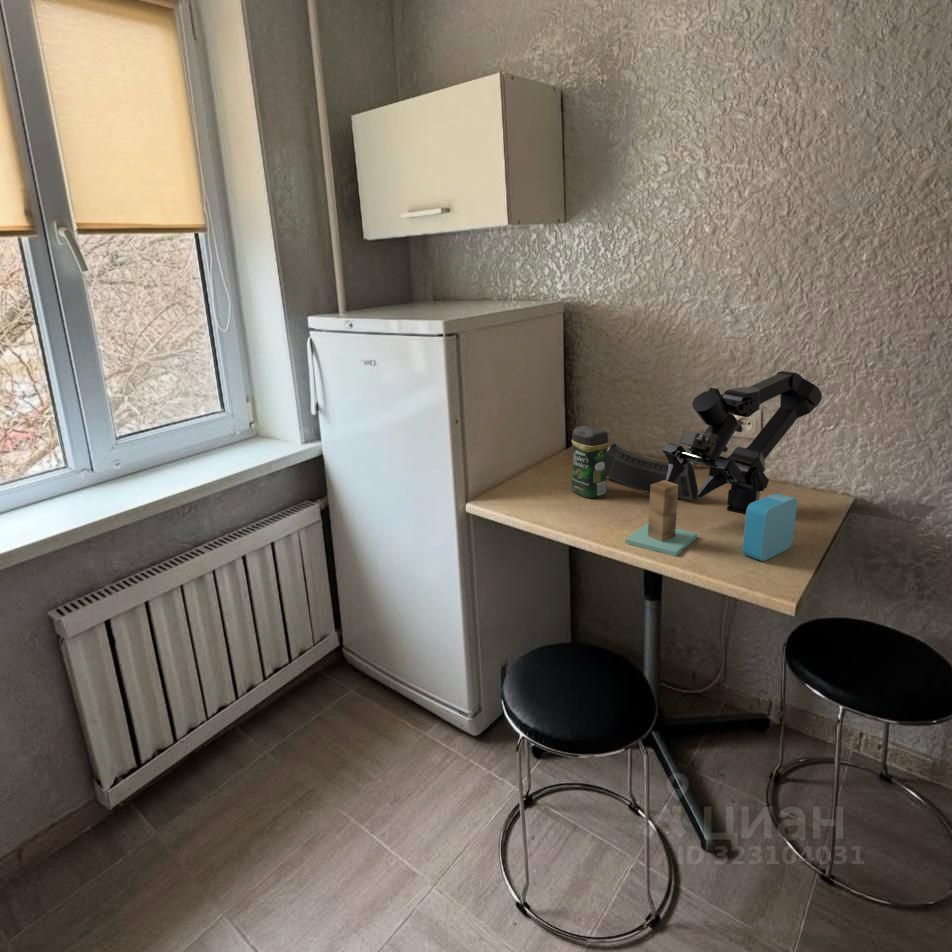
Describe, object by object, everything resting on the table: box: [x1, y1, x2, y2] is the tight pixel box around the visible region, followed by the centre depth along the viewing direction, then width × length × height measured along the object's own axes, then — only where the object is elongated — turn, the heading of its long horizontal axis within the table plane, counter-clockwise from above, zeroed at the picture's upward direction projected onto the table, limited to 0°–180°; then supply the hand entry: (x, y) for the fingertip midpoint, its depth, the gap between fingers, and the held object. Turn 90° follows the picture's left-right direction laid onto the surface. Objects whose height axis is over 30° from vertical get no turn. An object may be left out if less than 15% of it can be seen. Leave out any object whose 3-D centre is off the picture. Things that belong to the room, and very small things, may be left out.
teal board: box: [624, 521, 698, 557], centre depth 150 cm, size 12×12×1 cm
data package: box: [741, 492, 798, 562], centre depth 140 cm, size 12×4×12 cm, turn 125°
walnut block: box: [647, 480, 679, 542], centre depth 147 cm, size 4×4×12 cm
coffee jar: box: [570, 424, 609, 499], centre depth 177 cm, size 10×8×19 cm
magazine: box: [606, 442, 699, 501], centre depth 179 cm, size 17×3×30 cm
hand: (681, 491), depth 150 cm, fingers open, 9 cm apart
